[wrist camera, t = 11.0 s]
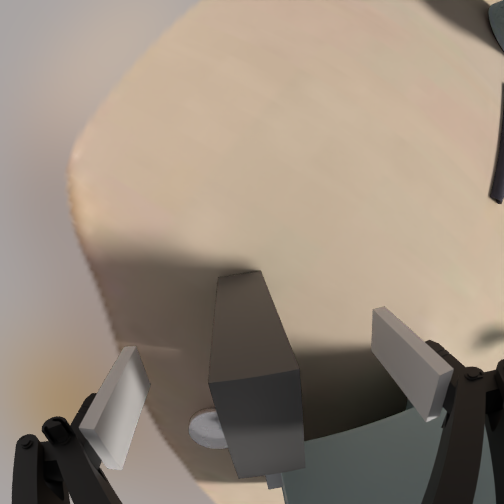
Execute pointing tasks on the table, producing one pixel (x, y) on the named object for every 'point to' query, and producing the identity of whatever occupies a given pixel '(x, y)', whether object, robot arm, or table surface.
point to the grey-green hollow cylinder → (497, 21)
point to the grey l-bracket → (255, 381)
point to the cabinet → (378, 464)
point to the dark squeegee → (499, 172)
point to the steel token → (207, 429)
